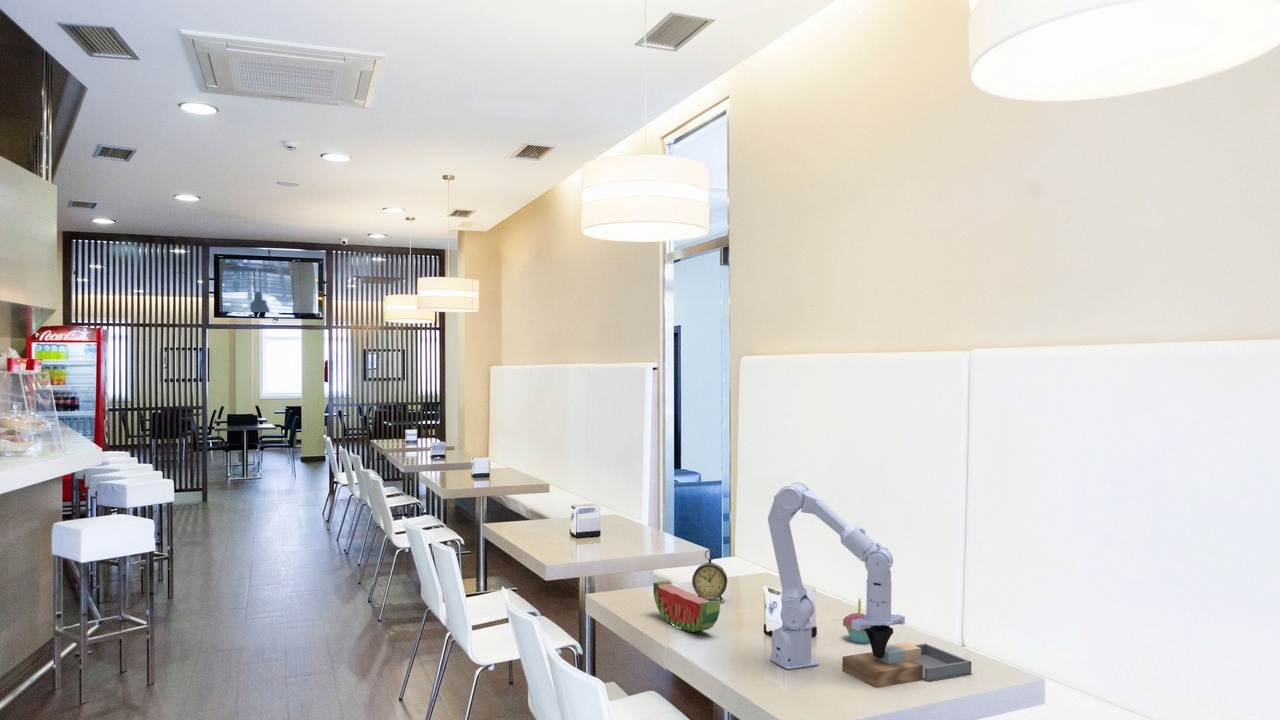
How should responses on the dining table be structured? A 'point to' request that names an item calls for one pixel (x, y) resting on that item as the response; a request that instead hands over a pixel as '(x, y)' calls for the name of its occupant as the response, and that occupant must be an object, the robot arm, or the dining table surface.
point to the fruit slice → (685, 607)
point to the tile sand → (909, 651)
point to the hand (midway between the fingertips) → (878, 657)
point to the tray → (941, 663)
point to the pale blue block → (893, 655)
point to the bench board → (881, 670)
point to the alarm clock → (709, 580)
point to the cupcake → (854, 635)
